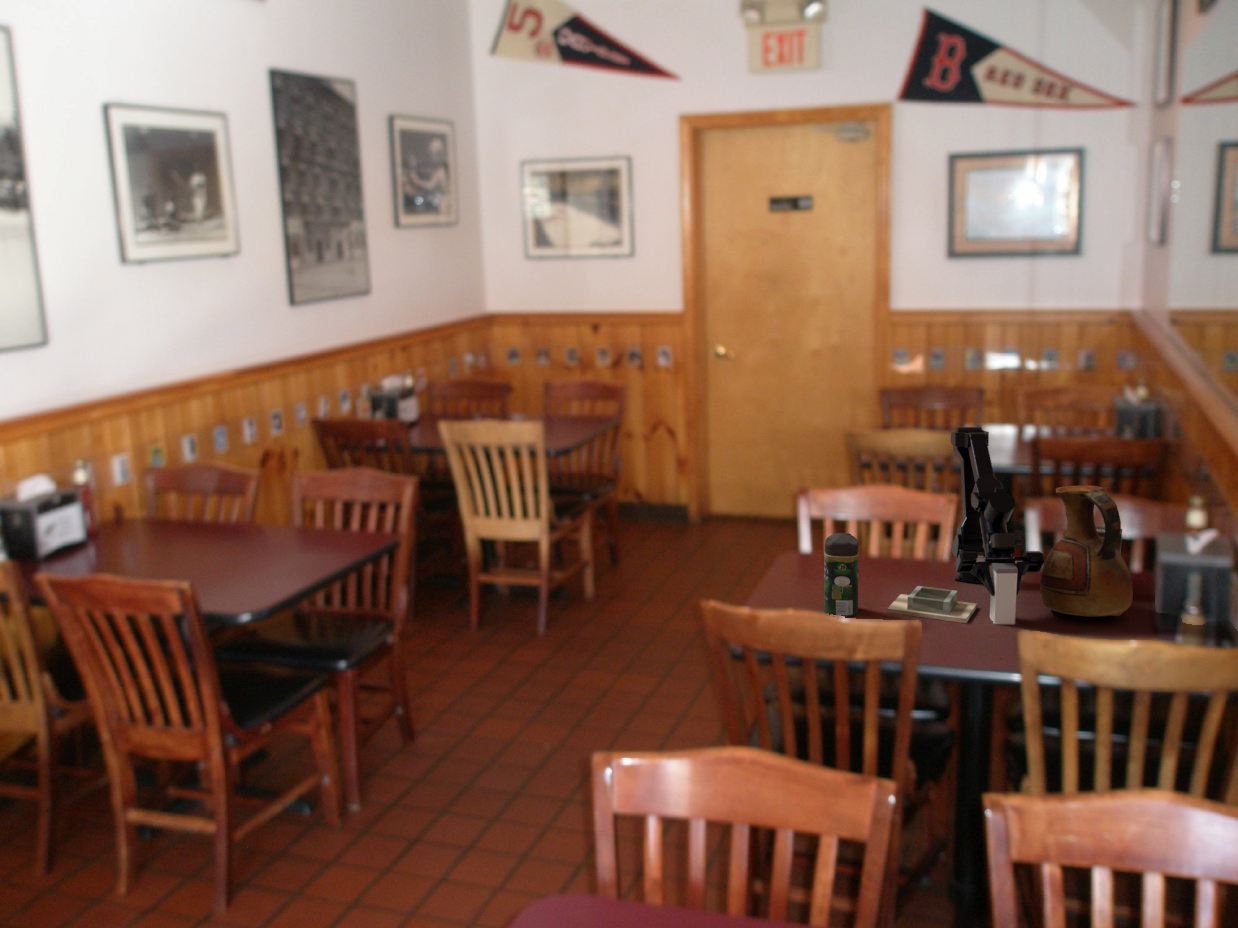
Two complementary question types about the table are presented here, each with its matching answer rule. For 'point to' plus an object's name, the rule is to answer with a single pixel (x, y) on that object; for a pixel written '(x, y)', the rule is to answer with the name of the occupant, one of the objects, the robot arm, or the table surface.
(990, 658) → the table surface
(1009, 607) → the connector plug
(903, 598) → the end holder
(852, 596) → the coffee jar
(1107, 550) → the ceramic pitcher
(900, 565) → the table surface
